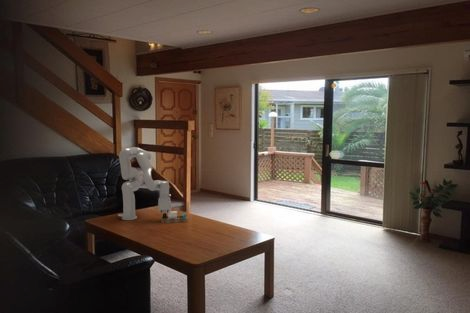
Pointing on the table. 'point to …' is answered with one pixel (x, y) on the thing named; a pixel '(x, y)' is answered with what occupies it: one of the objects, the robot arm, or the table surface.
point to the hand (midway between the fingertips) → (164, 218)
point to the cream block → (172, 214)
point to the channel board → (175, 219)
